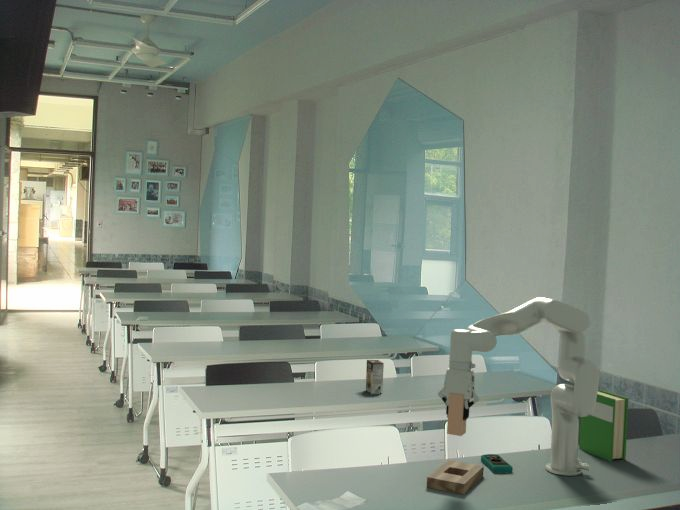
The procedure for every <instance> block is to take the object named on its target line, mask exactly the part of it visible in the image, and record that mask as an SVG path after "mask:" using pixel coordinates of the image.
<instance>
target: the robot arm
mask: <svg viewBox="0 0 680 510" xmlns="http://www.w3.org/2000/svg"><path fill="white" fill-rule="evenodd" d="M541 323H548V324H551V326H553V327H554V328H555V329H556V331H557V332H558V334H559V336H560V340H561V343H560V345H561V346H560V352H559V353H560V354H559V359H558V360H559V361H558V368H557V369H558V375H559V376H560V377H561V379H563V380H564V381H567V382H570V383H573V384H574V385H572V384H568V383H560V384H557V385H555V386H554V387H553V388H552V390H551V393H550V405H551V407H550V408H551V417H552V418H551V419H552V420H551V421H552V422H551V435H550V437H551V438H550V439H551V440H550V441H551V442H550V459H549V460H550V461H549V462H547V463H546V465H545V470H546V471H548V472H549V473H552V474H554V475H560V476H566V477H568V476H569V477H571V476H578V475H580V474H581V473H582V470H584V471H588V472H590V469H591V467H590V465H589V464H588V463H583V462H581V461H580V457H579V456H578V455H579V453H578V452H579V440H580V419H579V417H580V418H581V417H586V416H589V415H590V414H591V413H592V412H593V410H594V408H595V404H596V399H597V392H598V389H599V383H600V371H599V367H598V365H597V364H596V363H595V362H594V361H592V360H591V359H588V358H586V345H587V343H586V335H585V333H586V332H588V330H589V328H590V327H591V317H590V316H589V314H588V313H587V312H586V311H585V310H583V309H580V308H578V307H575V306H573V305H570V304H567V303H566V302H563V301H561V300H558V299H555V298H548V297H545V296H544V297H541V296H539V297H535V298H533V299H530V300H529V301H527V302H524V303H523V304H521V305H519V306H517V307H515V308H513V309H510V310H508V311H506V312H502V313H499V314H495V315H493V316H490V317H486V318H483V319H480V320H478V321H475V323H473V324H470V325H469V326H467V327H466V328H465V329H463V328H457V329H456V328H455V329H453V330H451V331H450V341H449V359H448V361H449V363H448V368H447V369H446V371H445V377H444V383H443V388H441V389H440V391H439V392H438V393H437V396H438V397H439V398H440V399H441V400H442V402H444V405H445V406H446V409H445V410H446V411H445V415H446V416H447V419H448V408H449V393H453V394H460V395H464V405H465V408H464V411H463V420H466V421H467V420H468V418H469V417H470V408H471V407H472V406H473V405H475V404H476V403H478V402H480V401H481V399H480V397H479V396H478V394H477V393H476V382H475V379H476V378H475V373H474V370H473V369H476V363H473V361H472V359H473V358H472V357H473V352H480V353H487V352H488V353H489V352H491V351H493V350H494V349H495V348H496V346H497V344H498V340H497V336H512V335H519V334H521V333H523V332H525V331H527V330H529V329H531V328H532V327H535V326H536V325H539V324H541ZM472 399H473V400H472Z"/></svg>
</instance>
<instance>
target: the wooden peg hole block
mask: <svg viewBox="0 0 680 510" xmlns="http://www.w3.org/2000/svg"><path fill="white" fill-rule="evenodd" d="M484 467H485V466H484V465H479V464H474V463H469V462H462V461H456V460H452V459H448V460H447V461H445V462H444V463H443V464H442V465H440V466H439V467H437V468H436V469H435V470H434V471H432V473H430V474H429V475H428V476H427V477H426V488H428V489H434V490H439V491H444V492H449V493H453V494H459V495H463V496H464V495H465V494H466V493H467V492H468V491H469V490H471V488H472V487H474V486H475V485H476V484H477V483H478V482H479V481H480V480H481V479H482V478H483V477H484V470H485V469H484Z"/></svg>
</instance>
